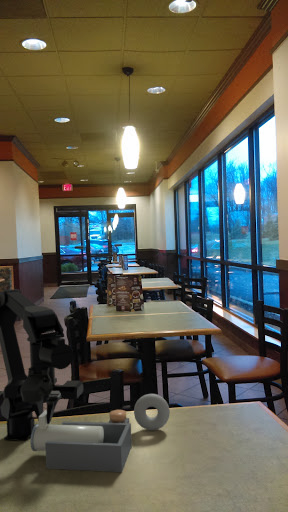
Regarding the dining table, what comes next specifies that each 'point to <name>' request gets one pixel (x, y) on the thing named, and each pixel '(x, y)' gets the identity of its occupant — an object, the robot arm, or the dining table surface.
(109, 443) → the housing
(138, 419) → the donut
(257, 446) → the dining table surface
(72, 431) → the cartridge
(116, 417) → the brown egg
